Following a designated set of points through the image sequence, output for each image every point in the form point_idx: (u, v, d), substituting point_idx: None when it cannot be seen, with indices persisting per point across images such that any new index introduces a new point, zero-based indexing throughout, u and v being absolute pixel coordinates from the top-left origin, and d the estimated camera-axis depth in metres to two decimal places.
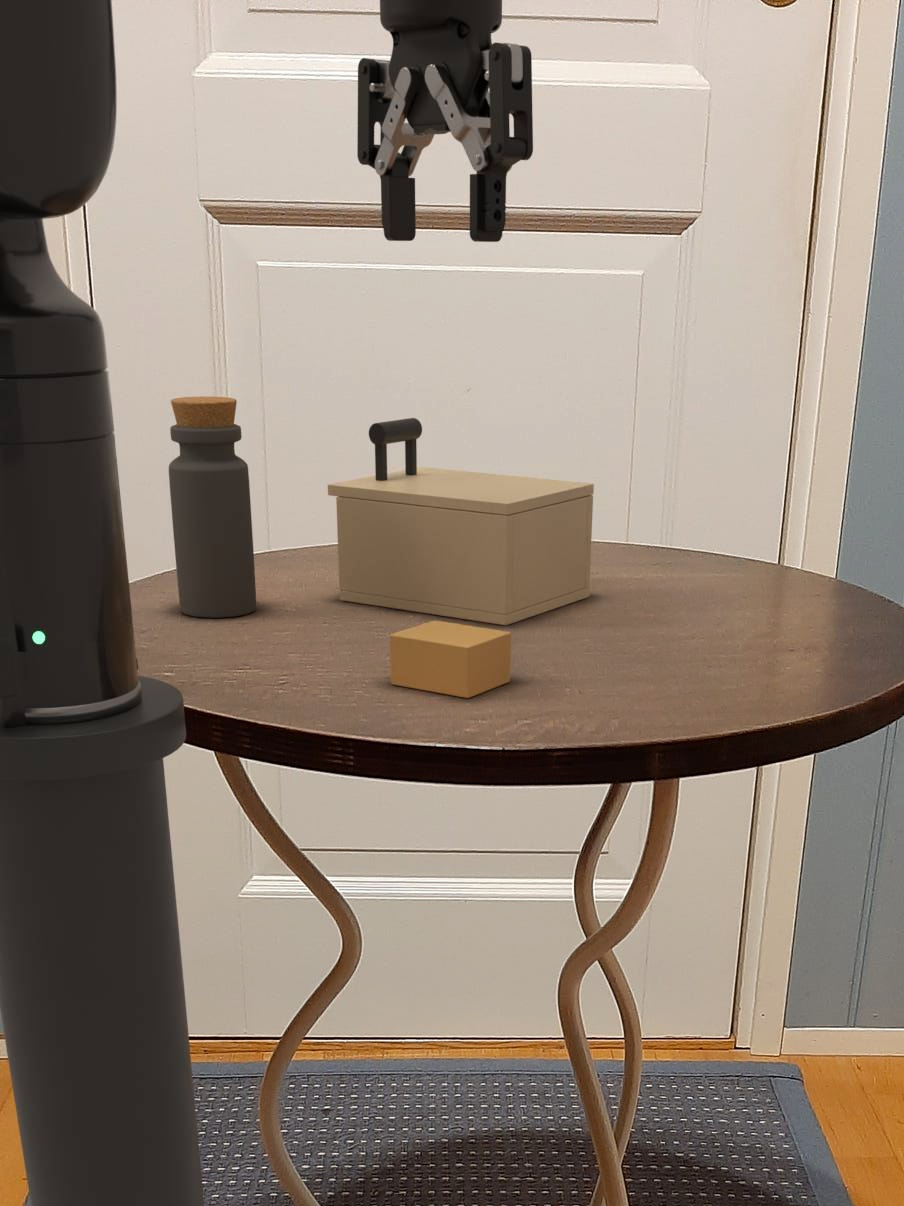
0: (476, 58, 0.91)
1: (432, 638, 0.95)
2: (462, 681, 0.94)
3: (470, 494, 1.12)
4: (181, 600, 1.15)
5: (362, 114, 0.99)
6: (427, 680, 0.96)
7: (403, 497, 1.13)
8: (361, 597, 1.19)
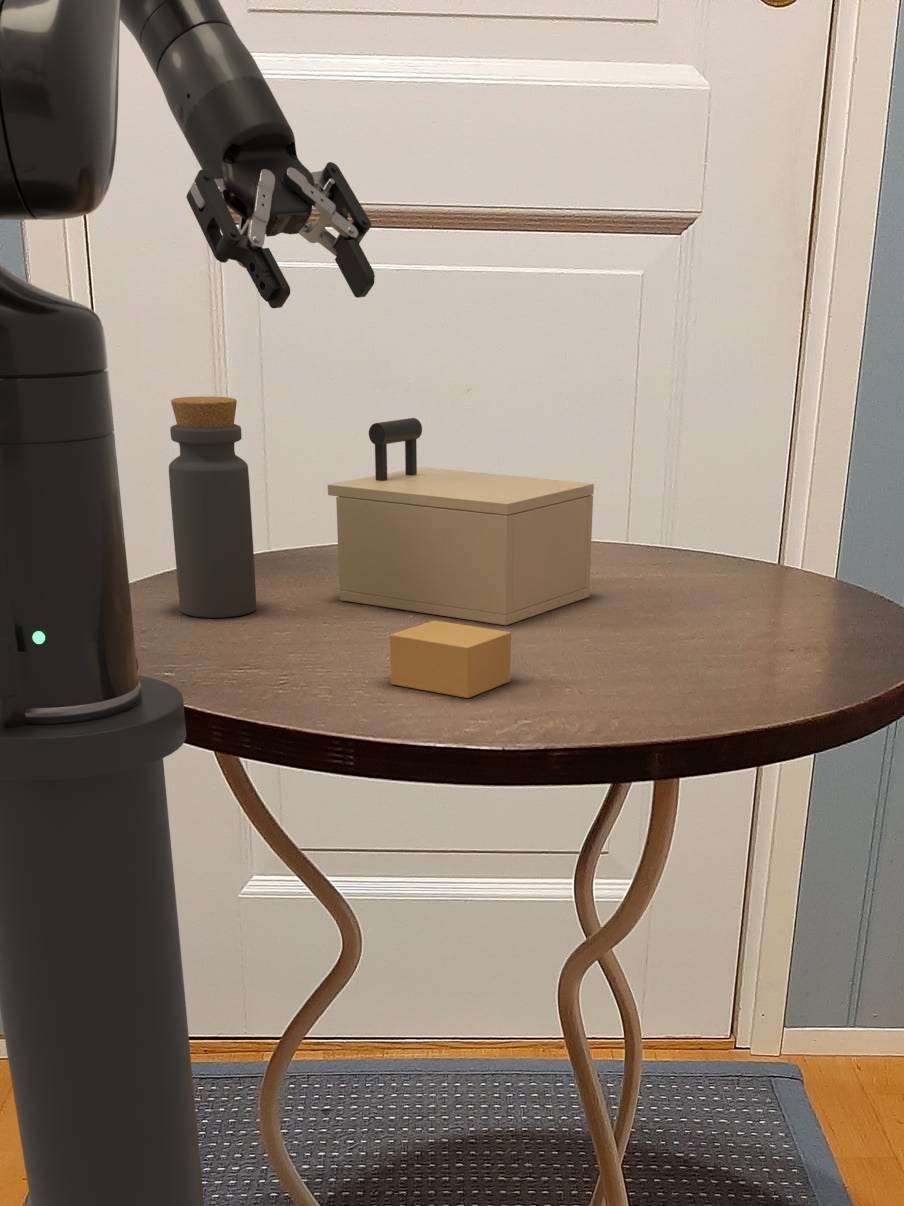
0: None
1: (432, 638, 0.95)
2: (462, 681, 0.94)
3: (470, 494, 1.12)
4: (181, 600, 1.15)
5: (219, 206, 1.13)
6: (427, 680, 0.96)
7: (403, 497, 1.13)
8: (361, 597, 1.19)
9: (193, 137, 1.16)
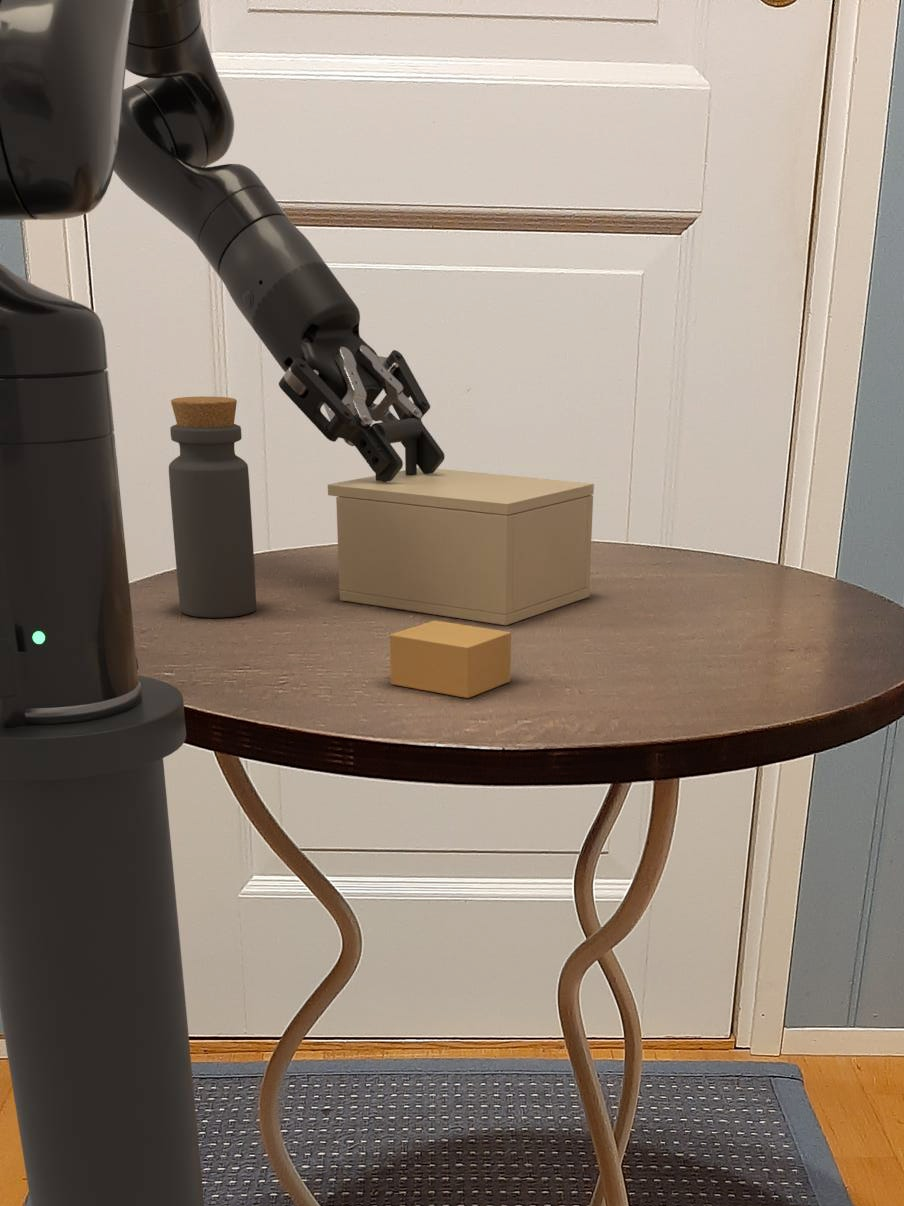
0: None
1: (432, 638, 0.95)
2: (462, 681, 0.94)
3: (470, 494, 1.12)
4: (181, 600, 1.15)
5: (325, 390, 1.14)
6: (427, 680, 0.96)
7: (403, 497, 1.13)
8: (361, 597, 1.19)
9: (265, 321, 1.17)
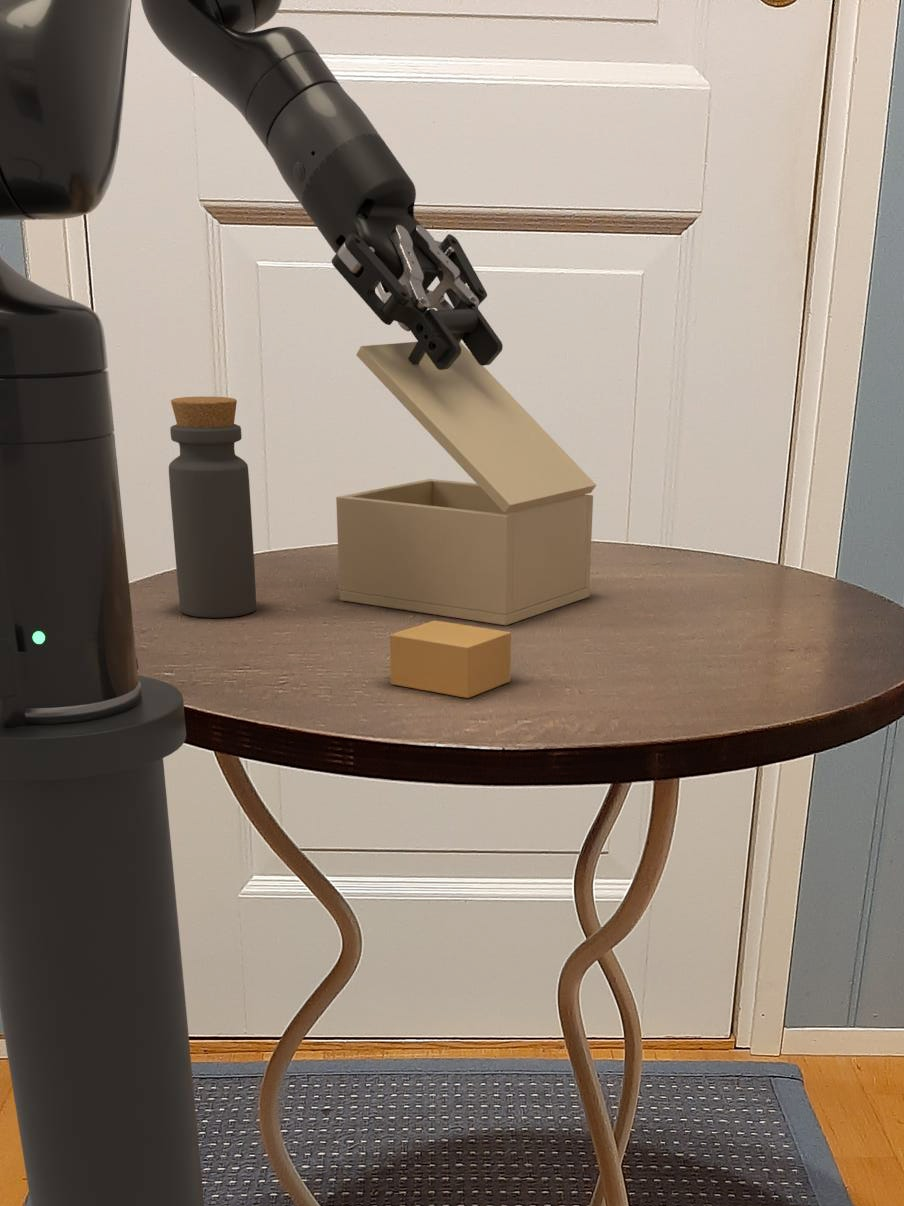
0: None
1: (432, 638, 0.95)
2: (462, 681, 0.94)
3: (484, 456, 1.10)
4: (181, 600, 1.15)
5: (381, 268, 1.07)
6: (427, 680, 0.96)
7: (423, 418, 1.10)
8: (361, 597, 1.19)
9: (317, 195, 1.10)
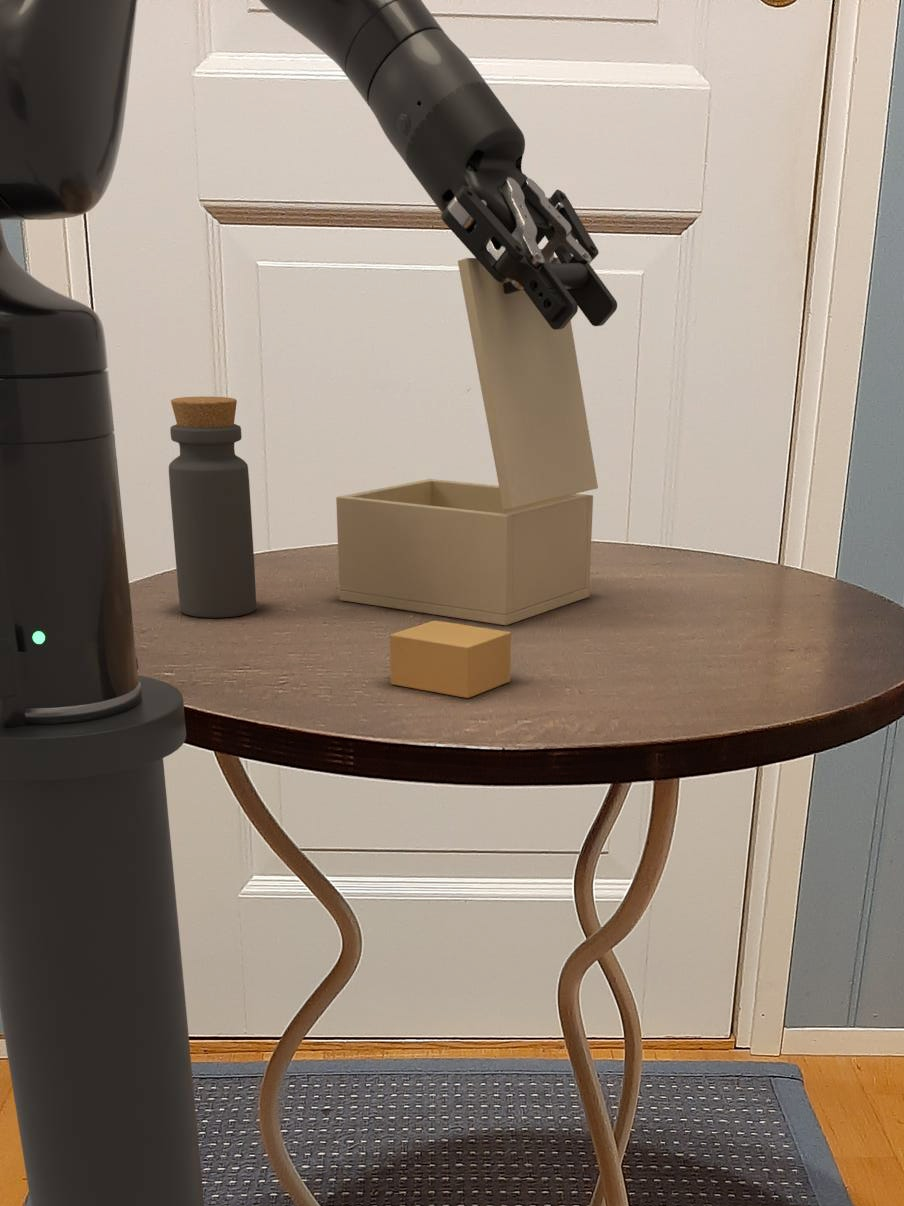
0: None
1: (432, 638, 0.95)
2: (462, 681, 0.94)
3: (515, 437, 1.08)
4: (181, 600, 1.15)
5: (494, 222, 1.02)
6: (427, 680, 0.96)
7: (483, 372, 1.06)
8: (361, 597, 1.19)
9: (423, 148, 1.04)
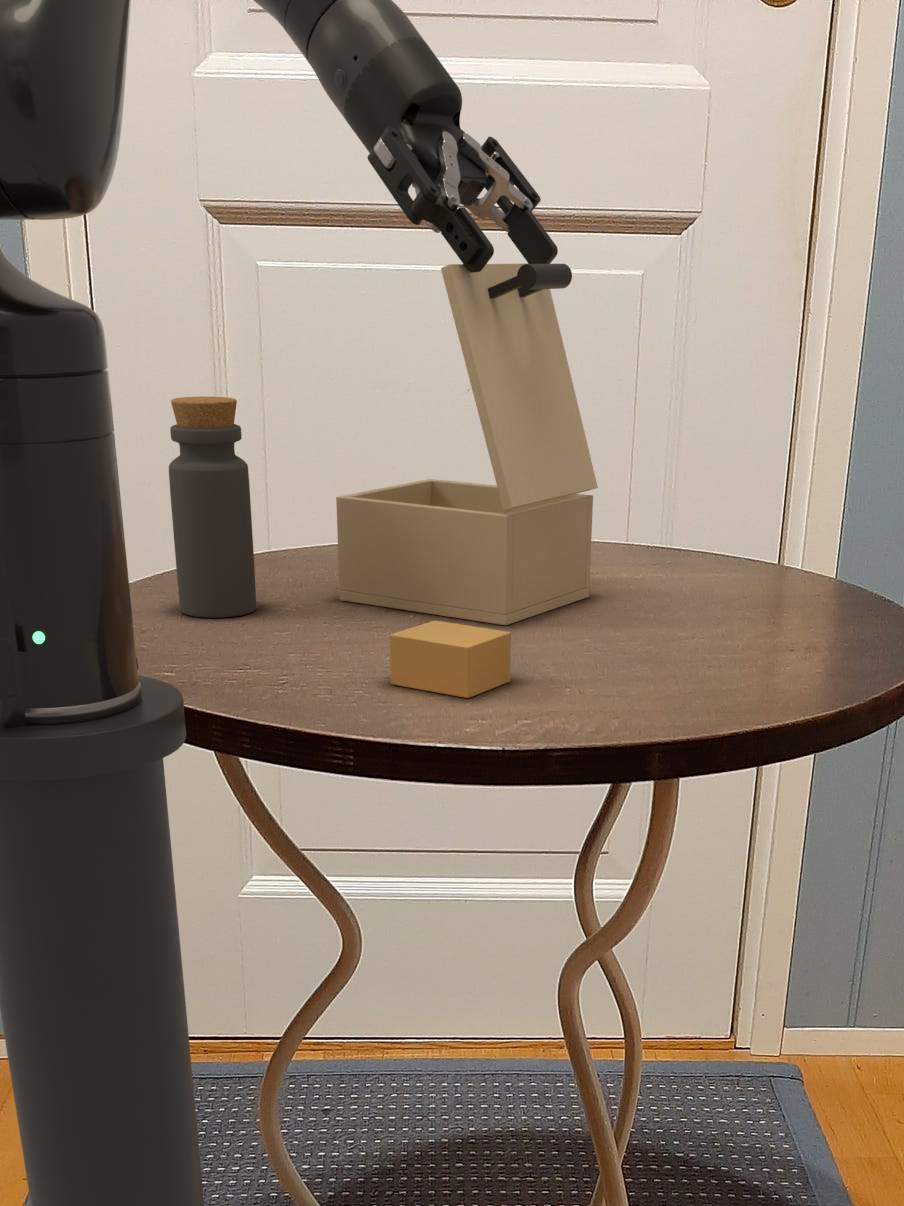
0: None
1: (432, 638, 0.95)
2: (462, 681, 0.94)
3: (511, 438, 1.09)
4: (181, 600, 1.15)
5: (413, 162, 1.02)
6: (427, 680, 0.96)
7: (473, 375, 1.06)
8: (361, 597, 1.19)
9: (360, 103, 1.06)
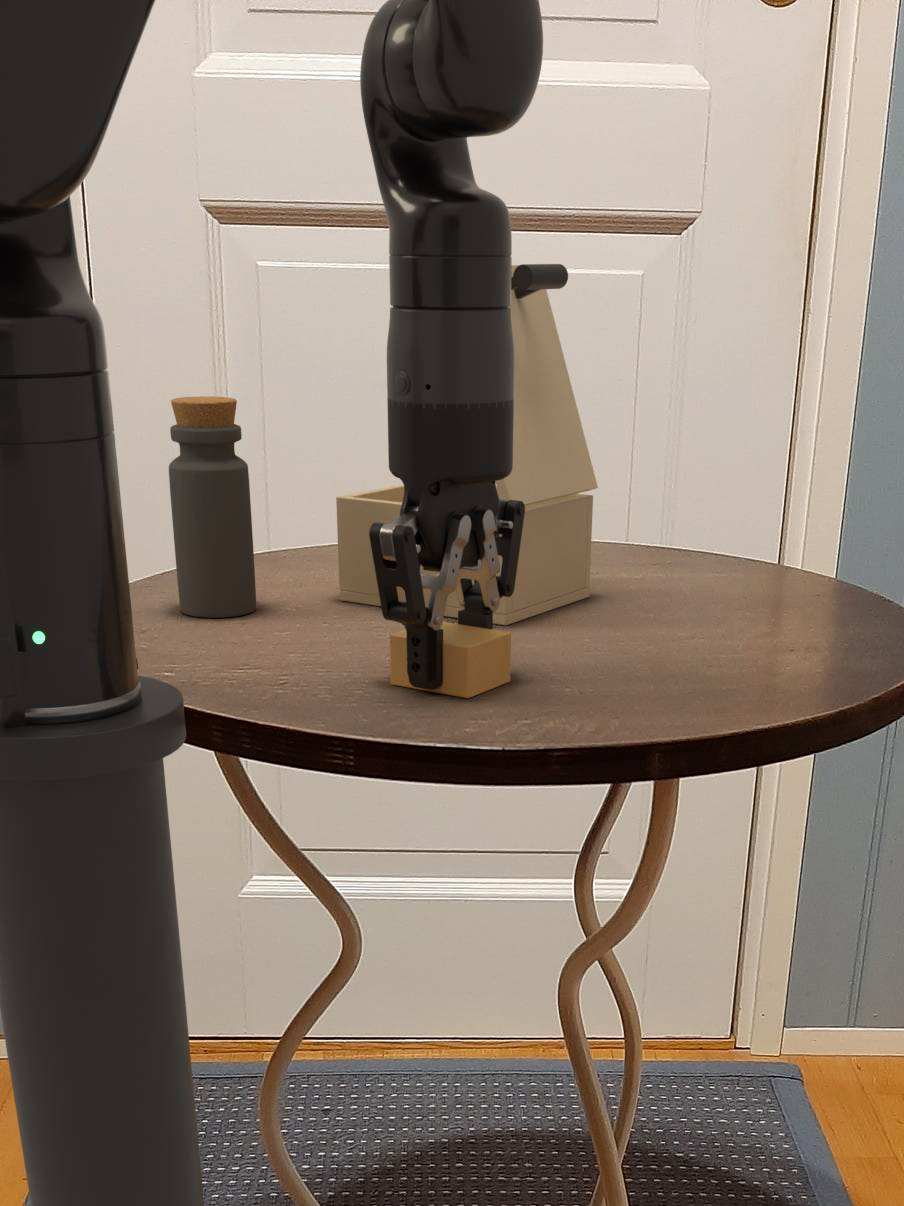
0: None
1: None
2: (462, 681, 0.94)
3: None
4: (181, 600, 1.15)
5: (413, 579, 0.90)
6: None
7: None
8: (361, 597, 1.19)
9: (404, 425, 0.88)
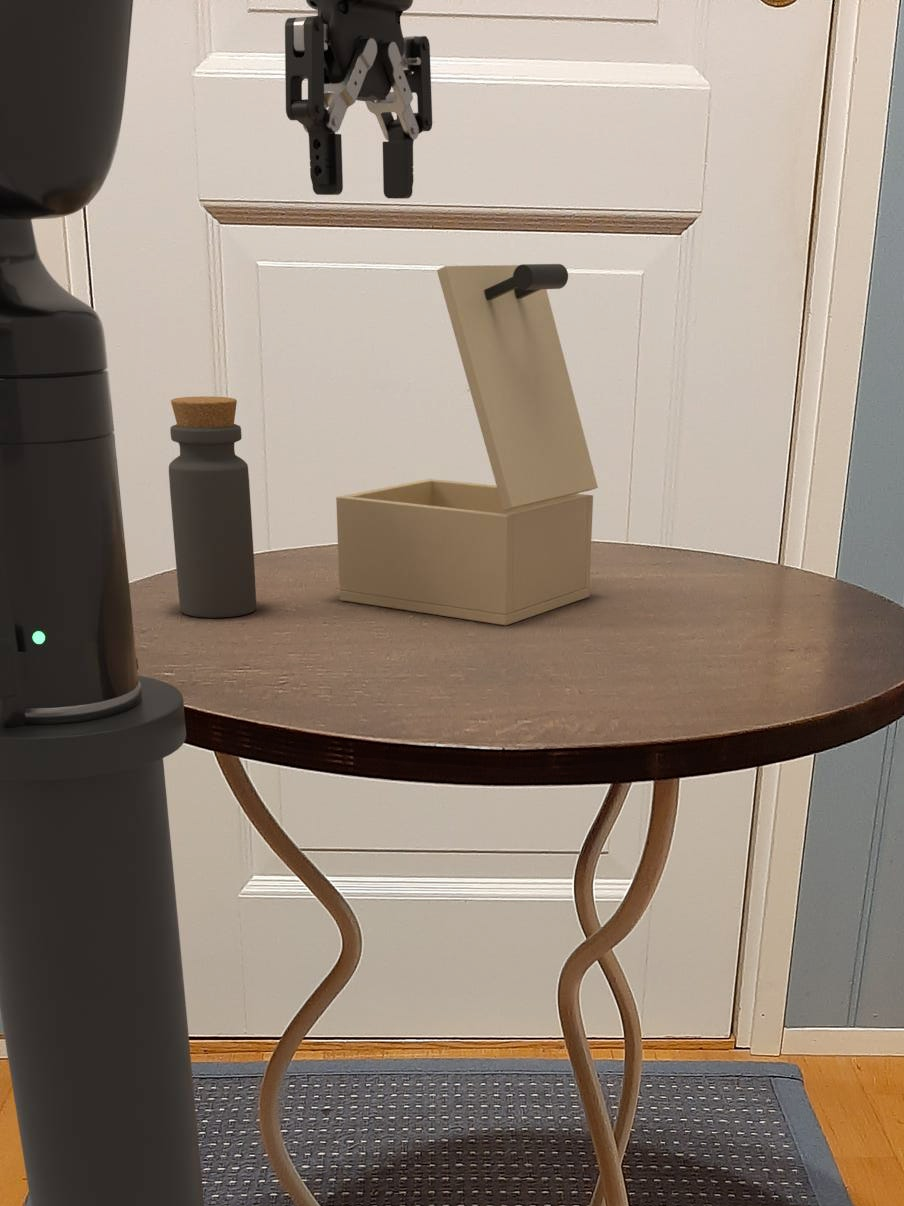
0: None
1: None
2: None
3: (509, 439, 1.09)
4: (181, 600, 1.15)
5: (317, 70, 1.03)
6: None
7: (471, 376, 1.06)
8: (361, 597, 1.19)
9: None
